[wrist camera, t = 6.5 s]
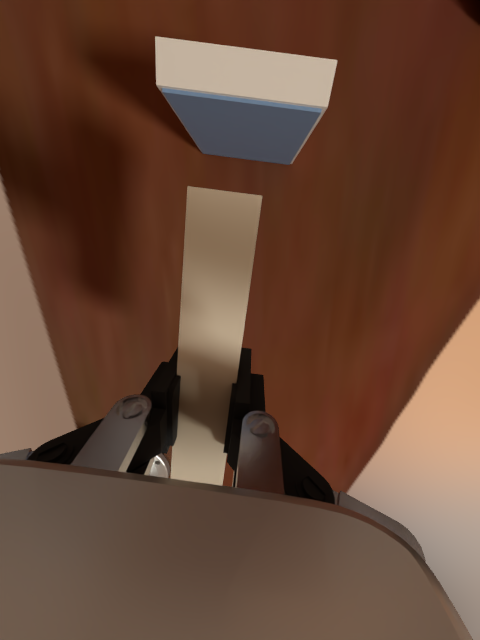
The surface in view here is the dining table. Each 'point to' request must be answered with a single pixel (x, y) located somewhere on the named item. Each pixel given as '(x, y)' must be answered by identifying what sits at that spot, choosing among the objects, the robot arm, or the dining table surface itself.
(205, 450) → the cream wooden plank
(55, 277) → the dining table surface
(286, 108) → the tile
